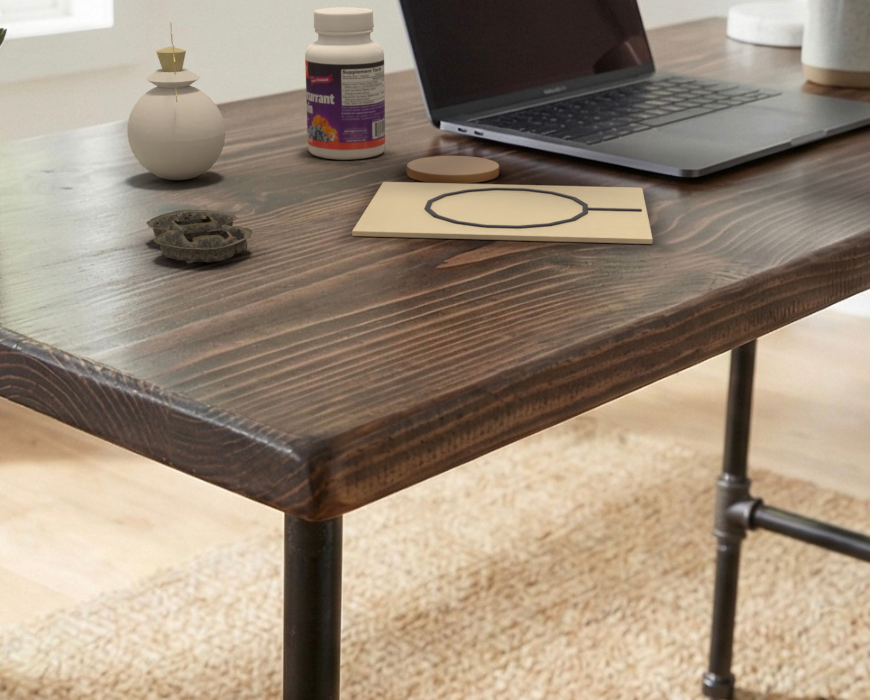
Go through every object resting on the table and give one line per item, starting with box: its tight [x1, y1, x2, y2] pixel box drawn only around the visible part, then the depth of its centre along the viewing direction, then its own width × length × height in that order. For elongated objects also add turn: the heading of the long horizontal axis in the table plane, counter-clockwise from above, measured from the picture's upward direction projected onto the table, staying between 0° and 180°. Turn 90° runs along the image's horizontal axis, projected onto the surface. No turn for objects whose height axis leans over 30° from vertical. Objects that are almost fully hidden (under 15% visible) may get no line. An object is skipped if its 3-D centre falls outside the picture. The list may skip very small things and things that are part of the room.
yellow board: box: [351, 181, 654, 245], centre depth 75 cm, size 16×12×1 cm
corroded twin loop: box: [146, 209, 253, 263], centre depth 67 cm, size 5×8×1 cm, turn 21°
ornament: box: [127, 21, 226, 181], centre depth 81 cm, size 6×7×10 cm
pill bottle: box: [304, 6, 386, 161], centre depth 89 cm, size 5×5×10 cm
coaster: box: [406, 155, 500, 184], centre depth 84 cm, size 6×6×1 cm
